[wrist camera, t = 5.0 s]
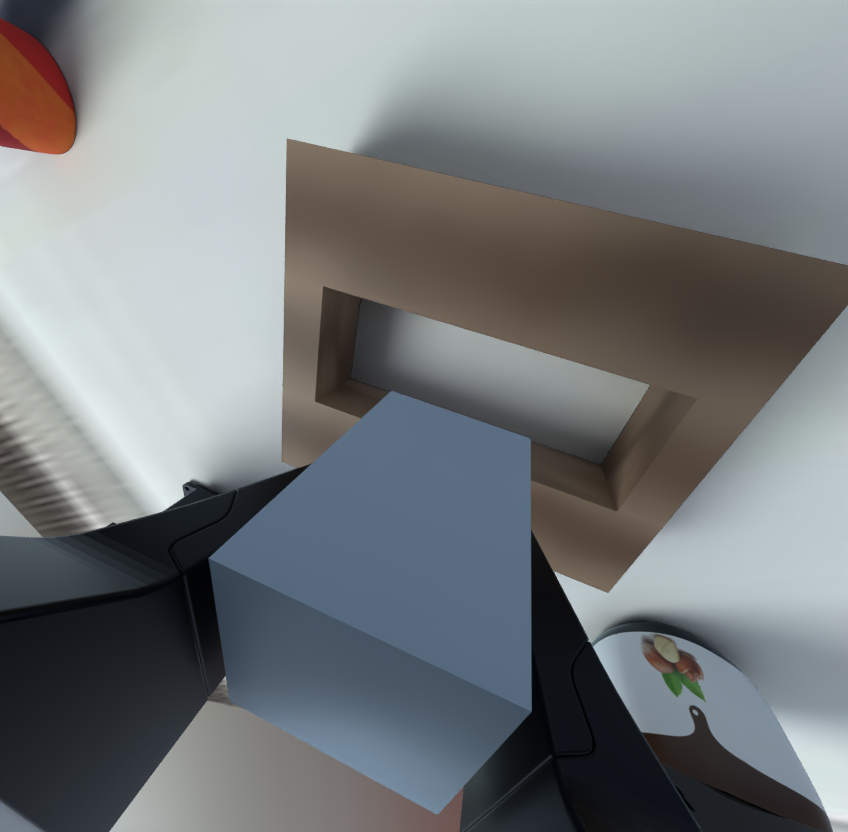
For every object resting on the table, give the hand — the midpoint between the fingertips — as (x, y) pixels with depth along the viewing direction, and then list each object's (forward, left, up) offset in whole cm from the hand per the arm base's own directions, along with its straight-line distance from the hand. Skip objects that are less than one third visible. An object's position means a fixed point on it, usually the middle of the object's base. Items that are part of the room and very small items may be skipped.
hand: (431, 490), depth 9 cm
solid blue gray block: (0, 0, -1) cm, 1 cm away
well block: (0, 0, -11) cm, 11 cm away
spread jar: (-18, -17, -11) cm, 27 cm away
